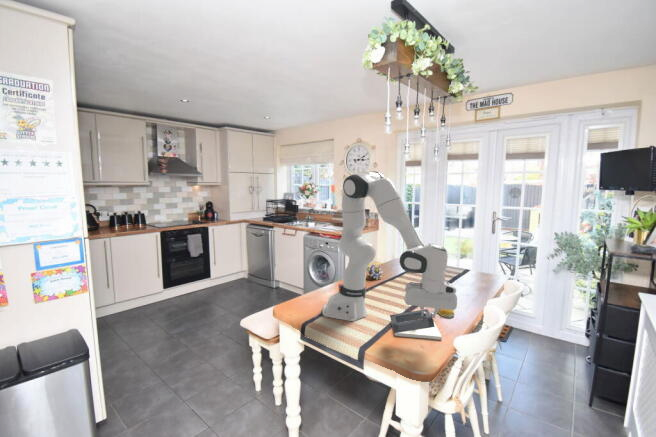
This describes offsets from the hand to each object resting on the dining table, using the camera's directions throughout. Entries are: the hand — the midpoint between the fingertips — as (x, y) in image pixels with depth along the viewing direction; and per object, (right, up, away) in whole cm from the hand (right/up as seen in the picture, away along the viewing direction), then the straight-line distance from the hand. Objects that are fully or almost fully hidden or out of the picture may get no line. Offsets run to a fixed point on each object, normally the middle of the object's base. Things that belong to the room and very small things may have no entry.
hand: (428, 316), depth 123 cm
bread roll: (+20, -10, +34) cm, 40 cm away
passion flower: (-9, -1, +85) cm, 86 cm away
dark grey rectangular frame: (-6, -3, +1) cm, 7 cm away
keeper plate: (-1, -11, +15) cm, 19 cm away
